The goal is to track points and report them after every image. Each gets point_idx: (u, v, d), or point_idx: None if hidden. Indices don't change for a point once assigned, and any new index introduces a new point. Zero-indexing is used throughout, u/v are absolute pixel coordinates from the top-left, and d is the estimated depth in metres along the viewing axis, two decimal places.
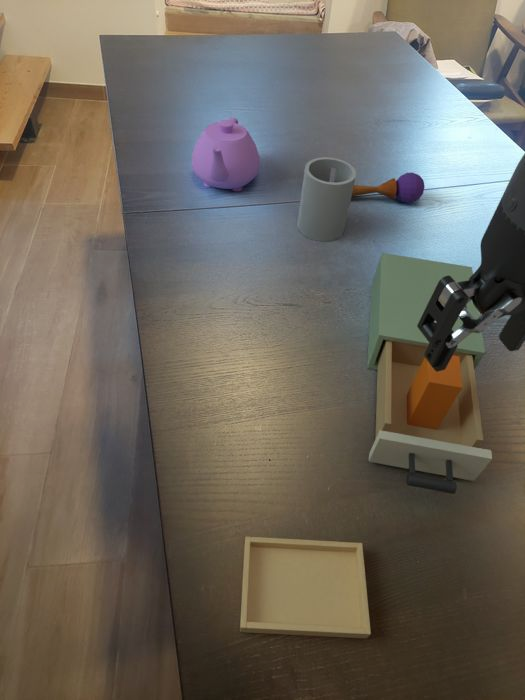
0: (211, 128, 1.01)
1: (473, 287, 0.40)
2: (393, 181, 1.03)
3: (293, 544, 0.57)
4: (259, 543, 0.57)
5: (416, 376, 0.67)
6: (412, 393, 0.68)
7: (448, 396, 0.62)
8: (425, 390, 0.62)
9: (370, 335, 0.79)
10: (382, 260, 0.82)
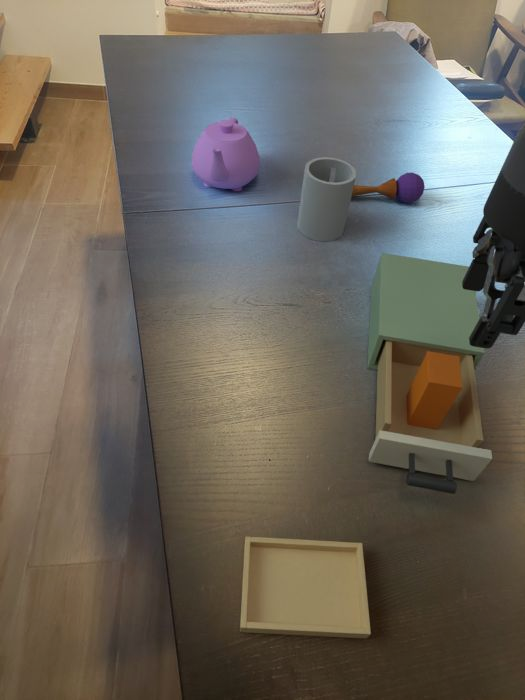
0: (211, 128, 1.01)
1: None
2: (393, 181, 1.03)
3: (293, 544, 0.57)
4: (259, 543, 0.57)
5: (416, 376, 0.67)
6: (412, 393, 0.68)
7: (448, 396, 0.62)
8: (425, 390, 0.62)
9: (370, 335, 0.79)
10: (382, 260, 0.82)
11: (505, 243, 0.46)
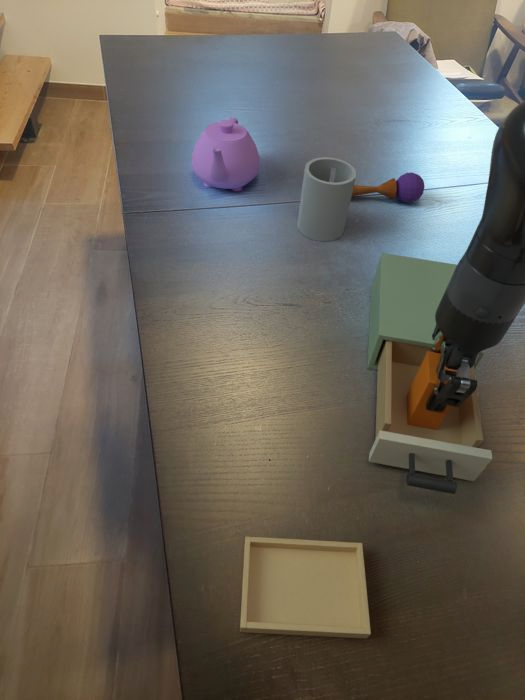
0: (211, 128, 1.01)
1: (468, 370, 0.55)
2: (393, 181, 1.03)
3: (293, 544, 0.57)
4: (259, 543, 0.57)
5: (416, 376, 0.67)
6: (412, 393, 0.68)
7: None
8: (425, 390, 0.62)
9: (370, 335, 0.79)
10: (382, 260, 0.82)
11: None
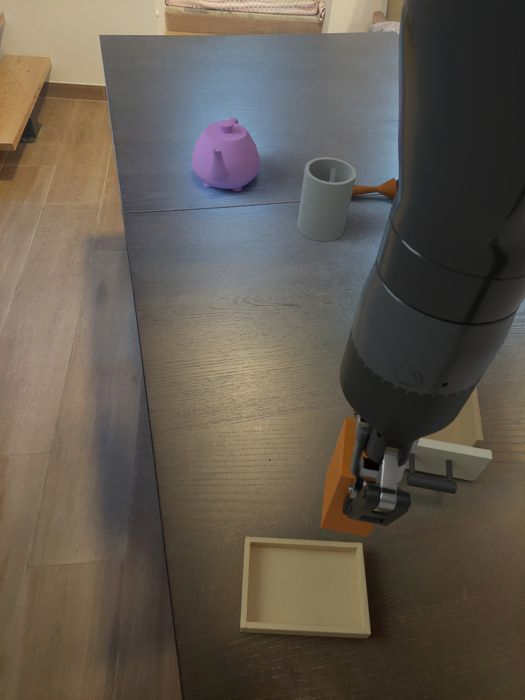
0: (211, 128, 1.01)
1: (396, 472, 0.30)
2: (393, 181, 1.03)
3: (293, 544, 0.57)
4: (259, 543, 0.57)
5: (334, 452, 0.42)
6: (329, 478, 0.43)
7: None
8: (337, 487, 0.37)
9: None
10: None
11: None
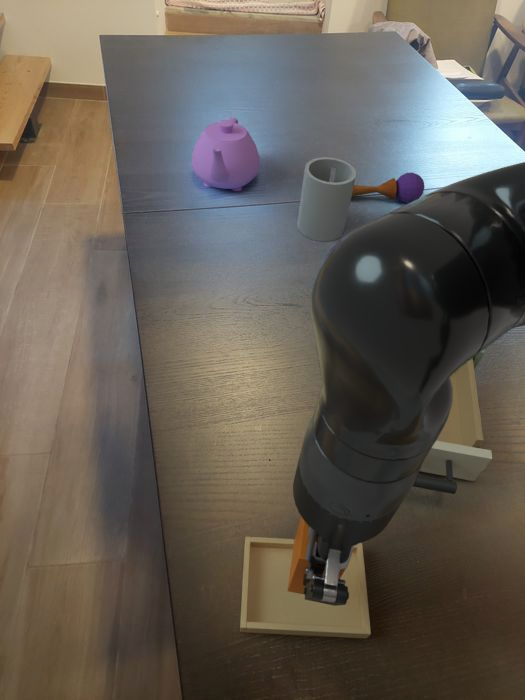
0: (211, 128, 1.01)
1: (338, 570, 0.36)
2: (393, 181, 1.03)
3: (293, 544, 0.57)
4: (259, 543, 0.57)
5: (298, 527, 0.49)
6: (294, 548, 0.49)
7: None
8: (297, 565, 0.44)
9: None
10: None
11: None
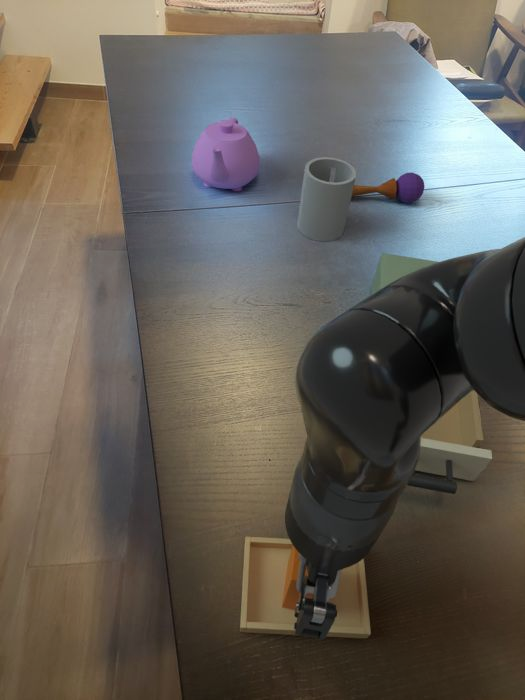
0: (211, 128, 1.01)
1: (326, 589, 0.40)
2: (393, 181, 1.03)
3: None
4: (259, 543, 0.57)
5: (292, 548, 0.53)
6: (288, 568, 0.54)
7: None
8: (289, 585, 0.48)
9: None
10: (382, 260, 0.82)
11: None
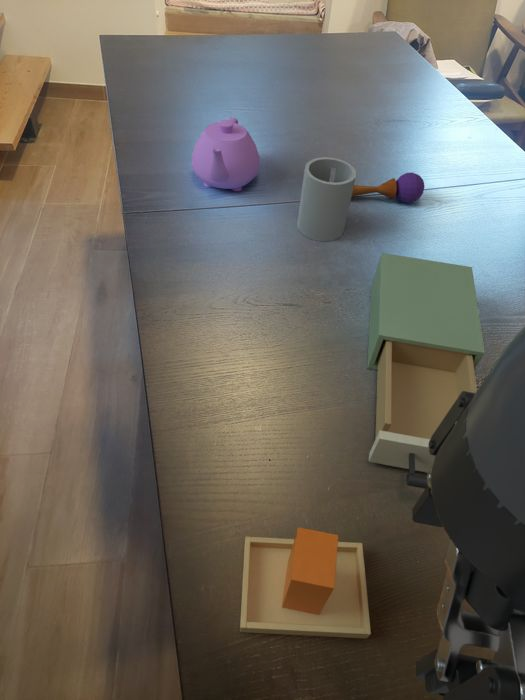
0: (211, 128, 1.01)
1: None
2: (393, 181, 1.03)
3: None
4: (259, 543, 0.57)
5: (292, 548, 0.53)
6: (288, 568, 0.54)
7: (320, 593, 0.48)
8: (289, 585, 0.48)
9: (370, 335, 0.79)
10: (382, 260, 0.82)
11: None
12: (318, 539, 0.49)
